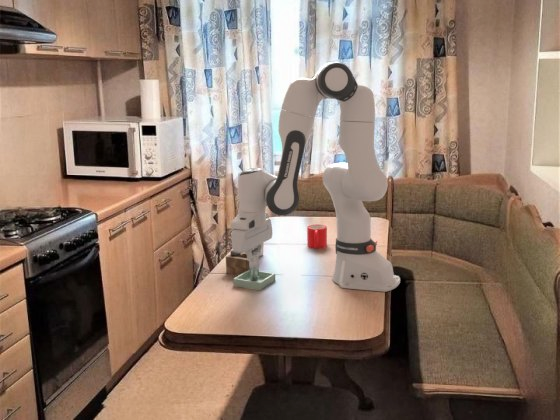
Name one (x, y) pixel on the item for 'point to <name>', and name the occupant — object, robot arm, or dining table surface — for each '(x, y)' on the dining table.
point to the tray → (263, 281)
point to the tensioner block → (237, 263)
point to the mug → (317, 236)
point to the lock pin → (254, 265)
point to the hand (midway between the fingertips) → (254, 258)
